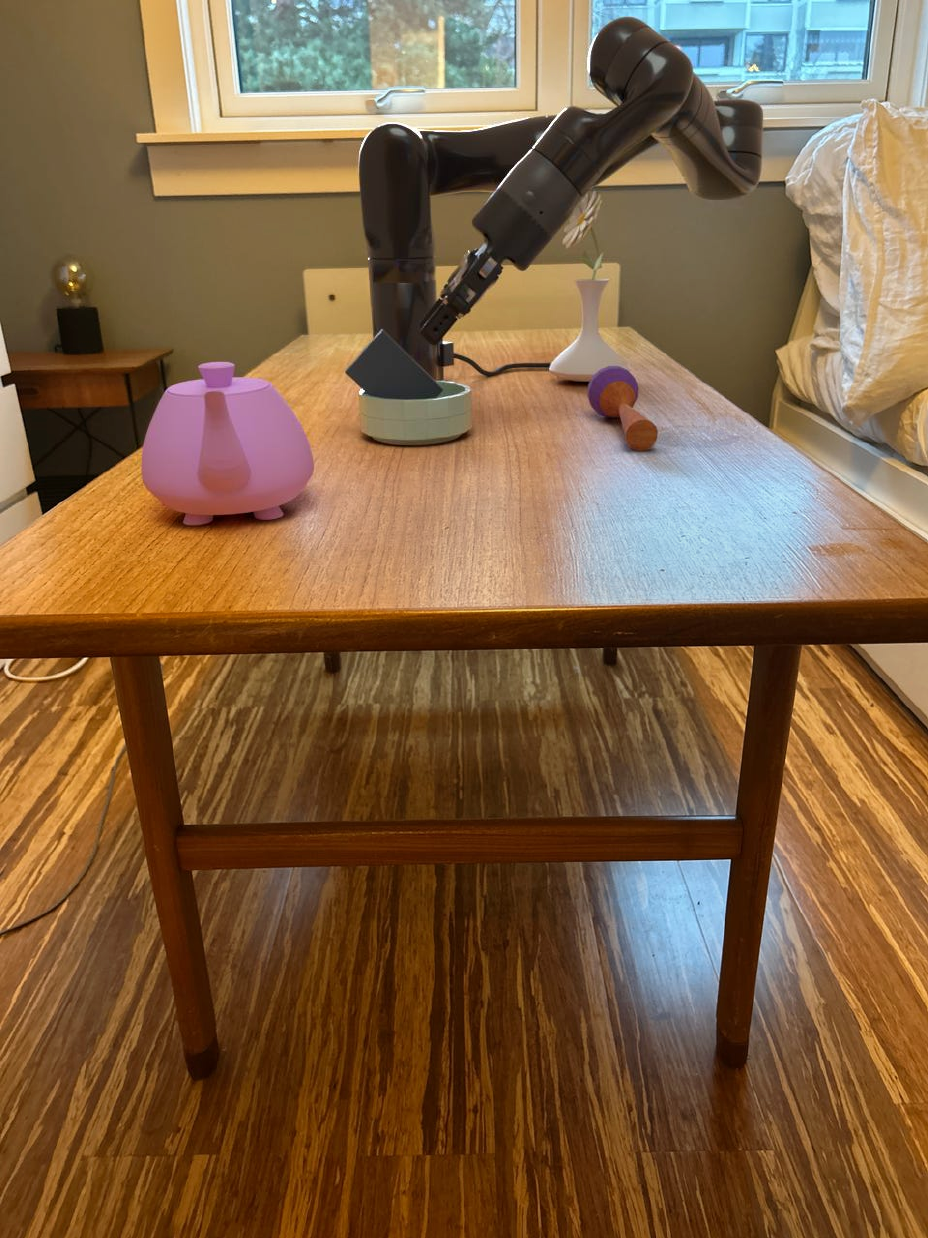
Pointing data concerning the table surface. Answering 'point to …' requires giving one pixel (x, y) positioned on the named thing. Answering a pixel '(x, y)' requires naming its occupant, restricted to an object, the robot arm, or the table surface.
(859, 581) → the table surface
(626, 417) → the kendama
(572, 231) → the flower in vase
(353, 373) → the dark gray rectangular block
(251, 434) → the teapot
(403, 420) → the bowl
